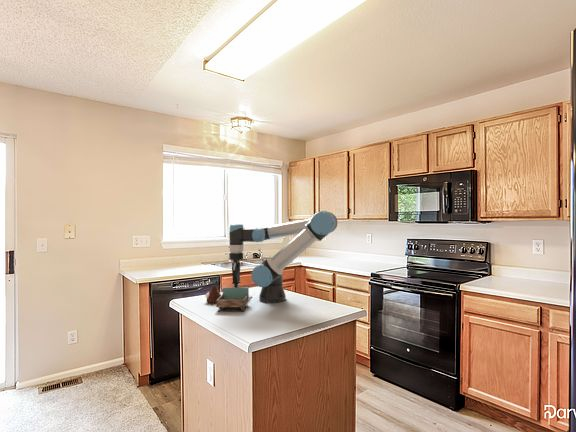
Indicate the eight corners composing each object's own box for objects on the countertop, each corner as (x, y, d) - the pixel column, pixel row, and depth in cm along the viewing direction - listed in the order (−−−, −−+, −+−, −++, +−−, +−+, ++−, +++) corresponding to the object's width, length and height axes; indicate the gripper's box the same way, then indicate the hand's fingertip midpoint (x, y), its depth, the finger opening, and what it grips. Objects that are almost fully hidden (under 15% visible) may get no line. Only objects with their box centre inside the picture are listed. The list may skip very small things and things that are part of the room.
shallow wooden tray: (248, 303, 178) (248, 287, 178) (244, 310, 164) (244, 293, 164) (222, 303, 179) (222, 287, 179) (216, 310, 165) (216, 293, 165)
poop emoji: (219, 304, 180) (219, 287, 180) (204, 304, 180) (204, 287, 180) (223, 300, 190) (223, 283, 190) (208, 300, 190) (208, 283, 190)
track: (252, 297, 196) (252, 296, 196) (243, 312, 164) (243, 311, 164) (230, 297, 196) (230, 296, 196) (217, 311, 164) (217, 311, 164)
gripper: (232, 251, 188) (232, 292, 187) (226, 253, 175) (226, 298, 174) (245, 251, 188) (245, 292, 187) (241, 253, 175) (240, 298, 174)
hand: (236, 295), depth 181 cm, fingers closed
